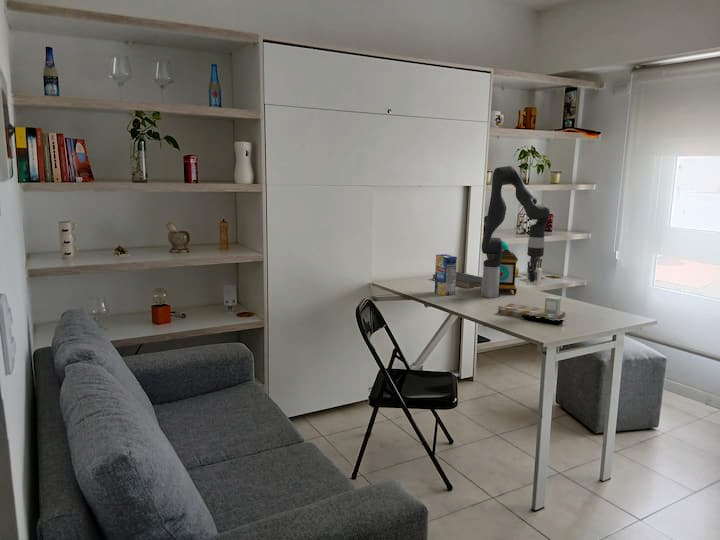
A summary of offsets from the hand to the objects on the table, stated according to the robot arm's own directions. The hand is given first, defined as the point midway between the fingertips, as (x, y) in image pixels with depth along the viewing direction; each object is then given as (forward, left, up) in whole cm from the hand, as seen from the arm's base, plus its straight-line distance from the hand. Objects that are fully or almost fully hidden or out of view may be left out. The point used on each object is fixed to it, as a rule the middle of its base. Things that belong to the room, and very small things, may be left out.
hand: (533, 280), depth 273 cm
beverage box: (-56, +15, -17) cm, 60 cm away
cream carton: (0, 0, -2) cm, 2 cm away
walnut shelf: (0, 0, -17) cm, 17 cm away
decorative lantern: (-34, +42, -17) cm, 57 cm away
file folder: (-63, +54, -18) cm, 85 cm away
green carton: (+10, 0, -15) cm, 18 cm away
